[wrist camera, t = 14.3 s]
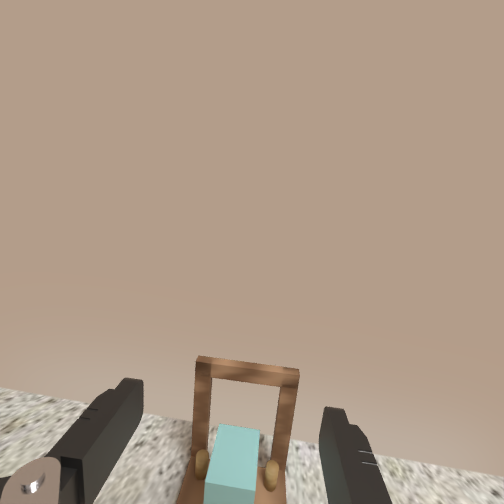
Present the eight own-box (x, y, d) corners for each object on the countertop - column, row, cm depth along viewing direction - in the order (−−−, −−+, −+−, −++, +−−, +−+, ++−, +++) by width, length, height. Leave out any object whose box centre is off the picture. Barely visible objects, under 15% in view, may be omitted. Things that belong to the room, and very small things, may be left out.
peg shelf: (134, 659, 22) (132, 498, 18) (192, 464, 38) (198, 355, 34) (288, 691, 21) (322, 530, 17) (281, 478, 37) (298, 368, 33)
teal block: (199, 568, 25) (204, 482, 23) (213, 498, 31) (219, 423, 29) (244, 577, 25) (255, 490, 22) (250, 505, 31) (259, 430, 28)
